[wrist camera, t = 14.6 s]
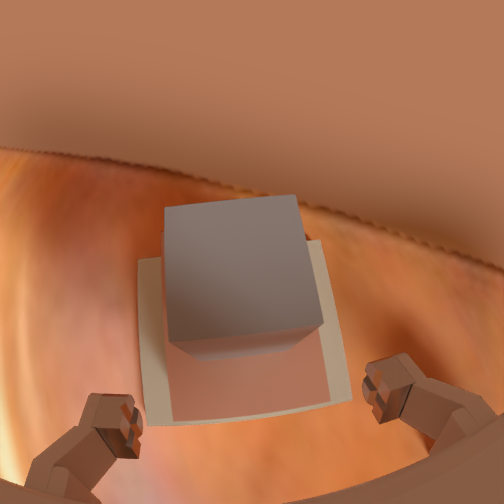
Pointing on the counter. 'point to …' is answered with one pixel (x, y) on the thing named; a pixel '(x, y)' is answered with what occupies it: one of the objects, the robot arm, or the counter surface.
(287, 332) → the slate brick
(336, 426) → the counter surface
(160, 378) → the brick tower base
